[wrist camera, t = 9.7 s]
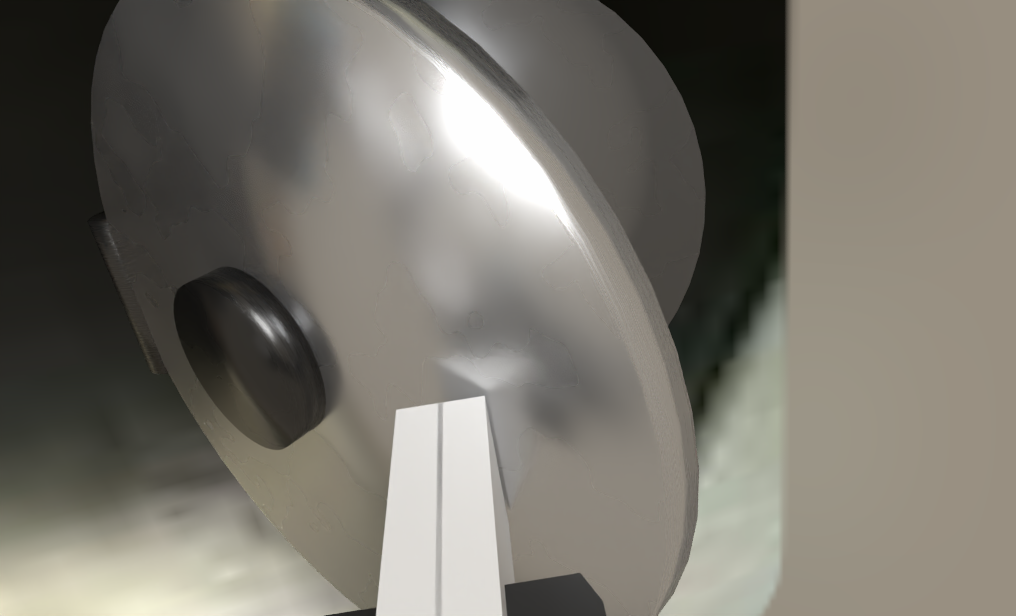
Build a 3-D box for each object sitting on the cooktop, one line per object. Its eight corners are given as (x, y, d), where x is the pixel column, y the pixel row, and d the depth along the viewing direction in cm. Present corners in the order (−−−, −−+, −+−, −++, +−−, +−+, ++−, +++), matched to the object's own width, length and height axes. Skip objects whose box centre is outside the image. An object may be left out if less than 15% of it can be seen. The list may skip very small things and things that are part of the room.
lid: (239, 496, 26) (189, 531, 25) (34, -25, 18) (-51, -10, 17) (713, 782, 16) (667, 864, 14) (672, -115, 8) (574, -93, 7)
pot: (333, 395, 35) (298, 563, 27) (168, -152, 26) (27, -176, 17) (646, 343, 35) (715, 493, 27) (602, -224, 26) (688, -286, 17)
